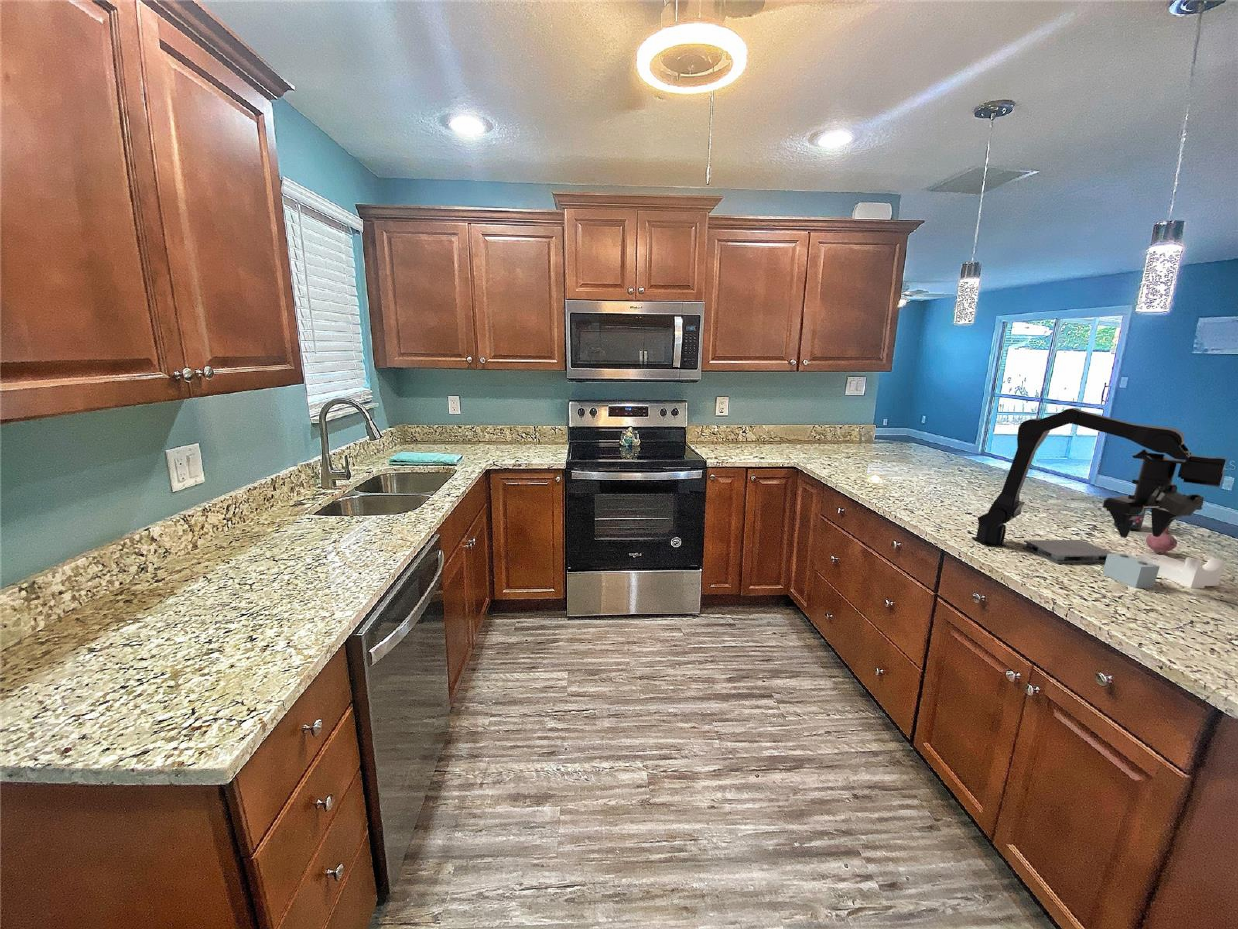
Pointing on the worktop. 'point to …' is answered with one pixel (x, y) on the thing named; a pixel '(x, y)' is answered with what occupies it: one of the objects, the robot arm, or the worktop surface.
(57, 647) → the worktop surface
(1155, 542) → the vegetable
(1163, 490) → the robot arm
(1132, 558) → the housing
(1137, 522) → the supplement container
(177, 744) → the worktop surface
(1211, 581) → the bracket
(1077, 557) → the stand
